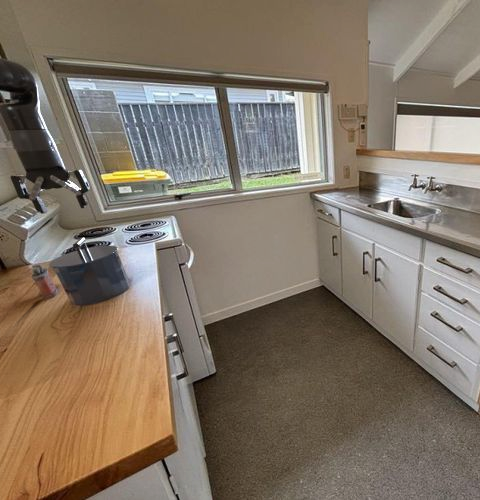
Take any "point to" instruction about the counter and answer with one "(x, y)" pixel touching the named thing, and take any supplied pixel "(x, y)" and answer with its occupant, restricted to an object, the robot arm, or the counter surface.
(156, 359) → the counter surface
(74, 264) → the pot lid
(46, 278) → the lighter
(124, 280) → the pot
